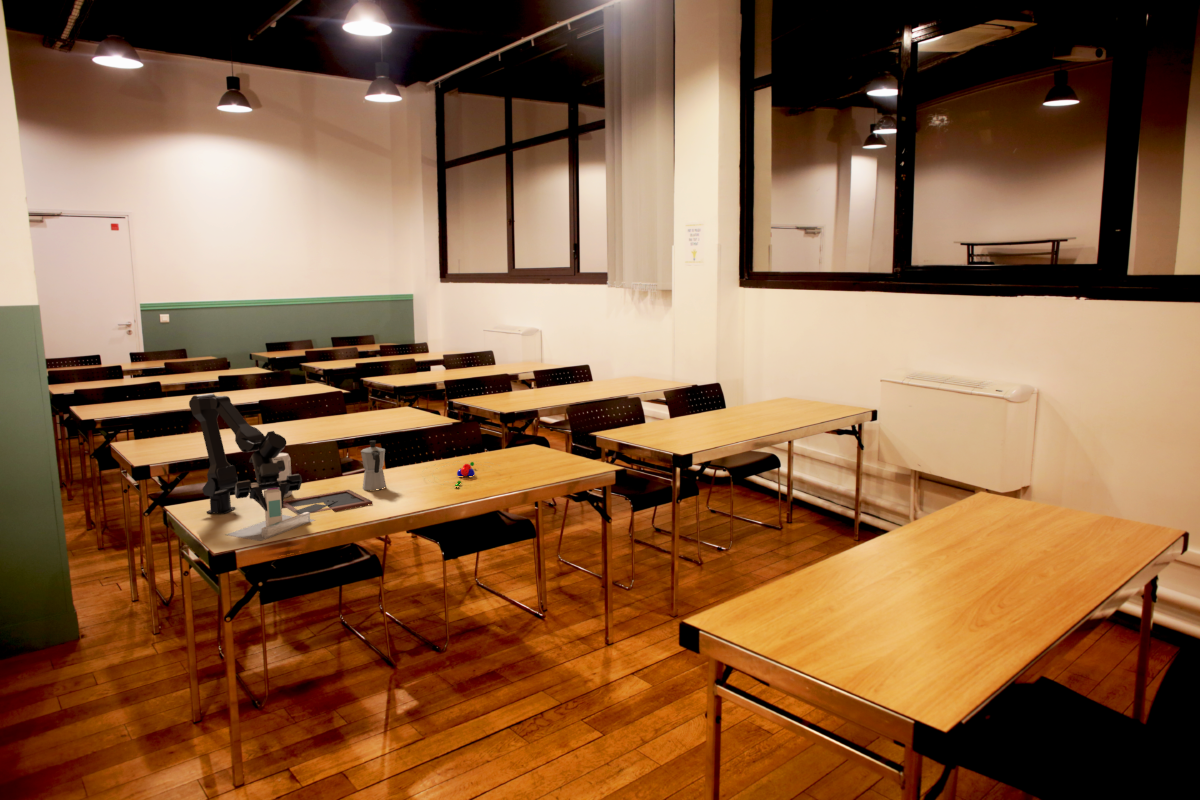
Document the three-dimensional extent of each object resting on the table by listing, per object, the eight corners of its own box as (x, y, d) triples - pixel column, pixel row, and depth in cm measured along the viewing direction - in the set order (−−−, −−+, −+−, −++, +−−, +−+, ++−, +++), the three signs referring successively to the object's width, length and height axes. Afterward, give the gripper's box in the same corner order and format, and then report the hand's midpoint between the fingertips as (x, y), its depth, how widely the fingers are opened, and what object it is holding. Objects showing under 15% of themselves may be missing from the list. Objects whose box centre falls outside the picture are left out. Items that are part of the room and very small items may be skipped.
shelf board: (225, 537, 226) (225, 534, 225) (282, 517, 246) (282, 514, 246) (260, 544, 220) (260, 540, 220) (315, 523, 240) (315, 520, 240)
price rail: (261, 538, 223) (261, 528, 222) (307, 521, 239) (306, 511, 239) (265, 538, 222) (264, 528, 222) (310, 521, 238) (310, 512, 238)
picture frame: (299, 520, 245) (372, 506, 262) (298, 514, 245) (372, 500, 261) (278, 506, 260) (349, 494, 277) (278, 500, 260) (348, 488, 276)
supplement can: (283, 499, 267) (281, 457, 265) (262, 498, 268) (260, 456, 266) (297, 493, 275) (294, 453, 272) (276, 492, 276) (274, 451, 274)
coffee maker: (359, 485, 286) (357, 438, 284) (382, 482, 290) (381, 436, 288) (366, 494, 273) (364, 446, 271) (391, 492, 277) (389, 443, 275)
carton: (265, 526, 233) (263, 490, 231) (279, 524, 235) (277, 488, 234) (269, 530, 230) (266, 493, 228) (282, 528, 232) (280, 491, 230)
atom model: (502, 493, 283) (502, 479, 282) (410, 489, 283) (410, 474, 282) (514, 467, 317) (514, 454, 316) (433, 463, 317) (433, 450, 316)
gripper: (233, 456, 227) (243, 500, 220) (299, 448, 238) (310, 490, 230) (230, 476, 234) (239, 519, 227) (294, 468, 245) (304, 509, 238)
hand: (274, 509), depth 230 cm, fingers closed on carton, 4 cm apart
